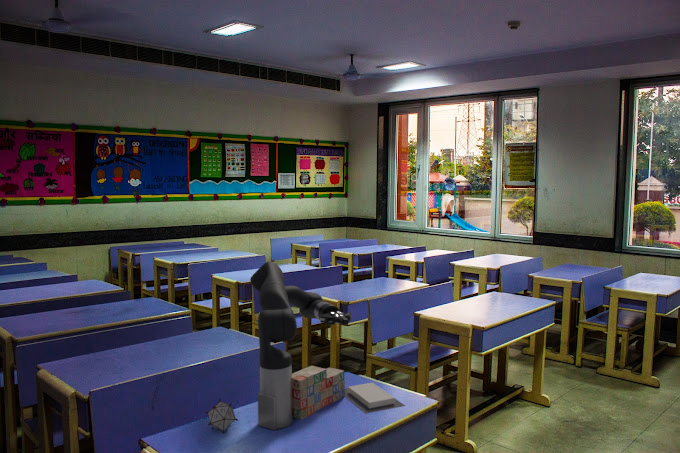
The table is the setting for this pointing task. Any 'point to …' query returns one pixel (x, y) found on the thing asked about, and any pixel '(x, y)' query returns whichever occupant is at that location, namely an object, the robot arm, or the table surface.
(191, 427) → the table surface
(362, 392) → the tile
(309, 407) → the stack of blocks
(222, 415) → the game die
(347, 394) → the mat
